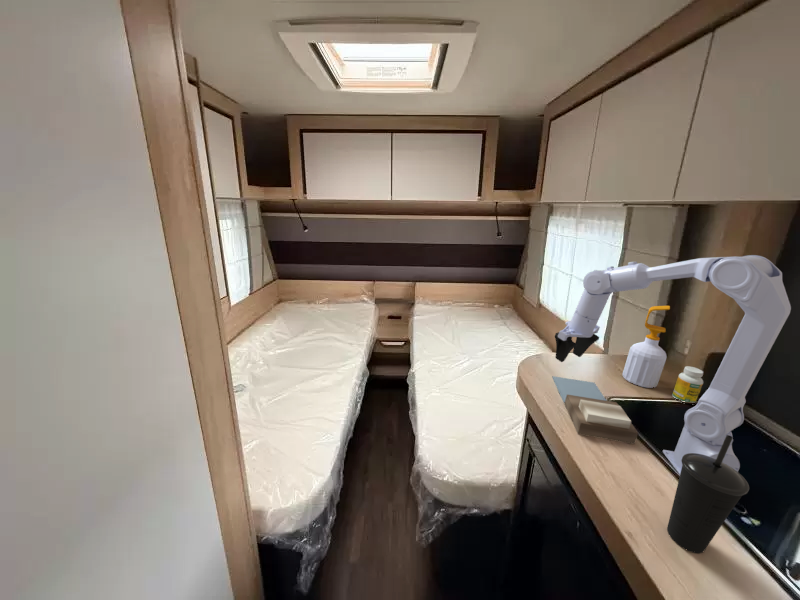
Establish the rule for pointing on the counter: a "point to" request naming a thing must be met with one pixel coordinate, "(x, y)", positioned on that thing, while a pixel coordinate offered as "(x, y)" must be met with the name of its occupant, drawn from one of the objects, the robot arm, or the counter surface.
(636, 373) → the soap bottle
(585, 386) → the mat
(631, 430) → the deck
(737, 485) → the drinking cup
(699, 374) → the supplement bottle
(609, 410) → the tile
